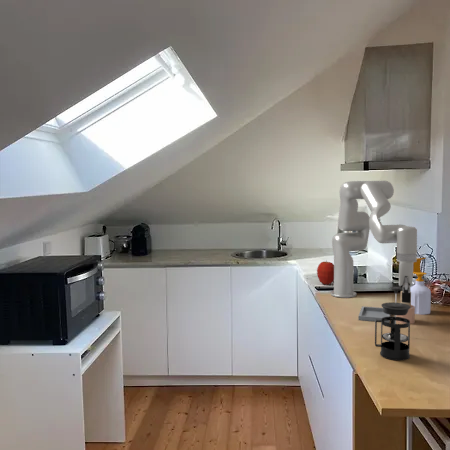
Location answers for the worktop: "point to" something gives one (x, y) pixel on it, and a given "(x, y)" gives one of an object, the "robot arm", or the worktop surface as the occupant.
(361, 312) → the tray
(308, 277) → the worktop surface
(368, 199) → the robot arm
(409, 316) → the cup
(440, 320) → the worktop surface
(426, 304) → the soap bottle
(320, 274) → the apple
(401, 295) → the dowel
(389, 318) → the french press
